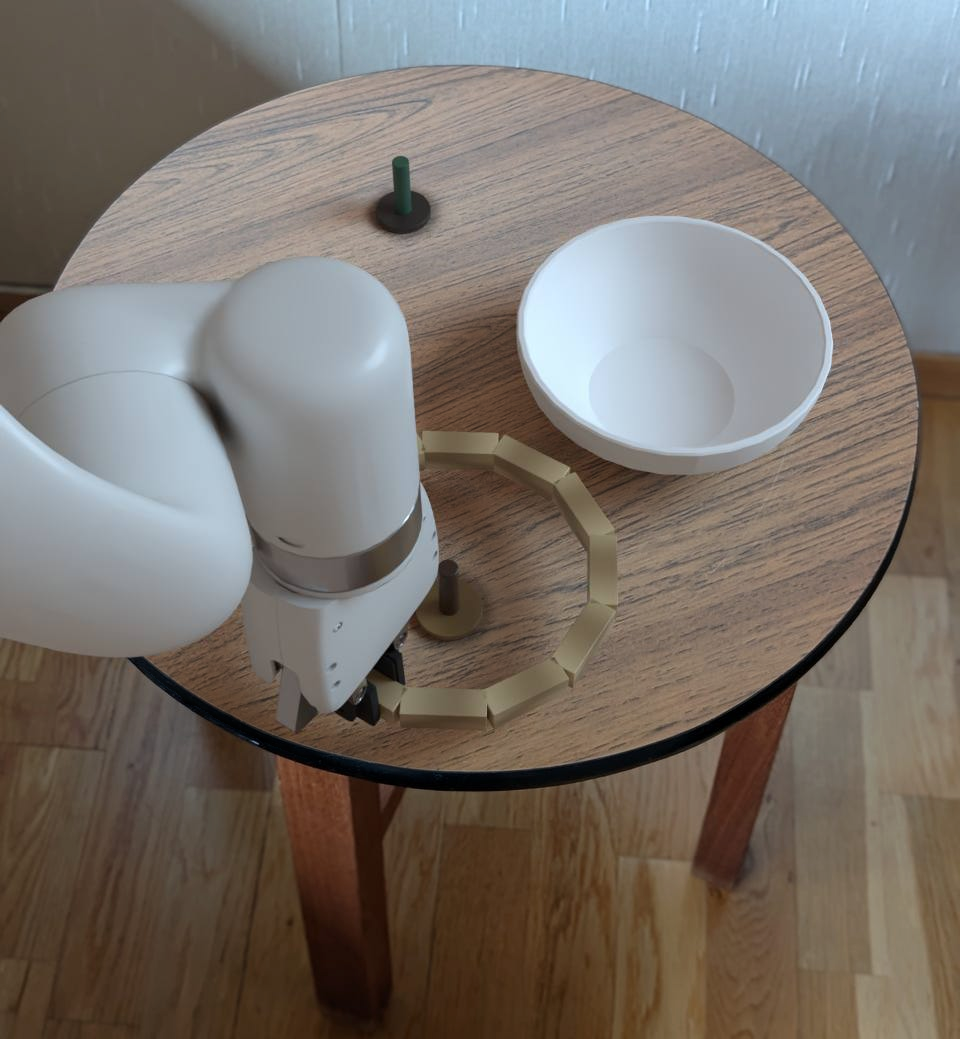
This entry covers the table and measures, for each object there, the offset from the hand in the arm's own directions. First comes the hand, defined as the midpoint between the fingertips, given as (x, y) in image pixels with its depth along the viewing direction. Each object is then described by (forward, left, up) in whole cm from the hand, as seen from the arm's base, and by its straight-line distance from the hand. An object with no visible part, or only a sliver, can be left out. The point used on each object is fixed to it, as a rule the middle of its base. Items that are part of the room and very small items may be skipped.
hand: (366, 692), depth 73 cm
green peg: (+34, +21, -4) cm, 40 cm away
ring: (+8, 0, 0) cm, 9 cm away
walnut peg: (+8, 0, -4) cm, 9 cm away
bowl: (+29, -3, -4) cm, 30 cm away
